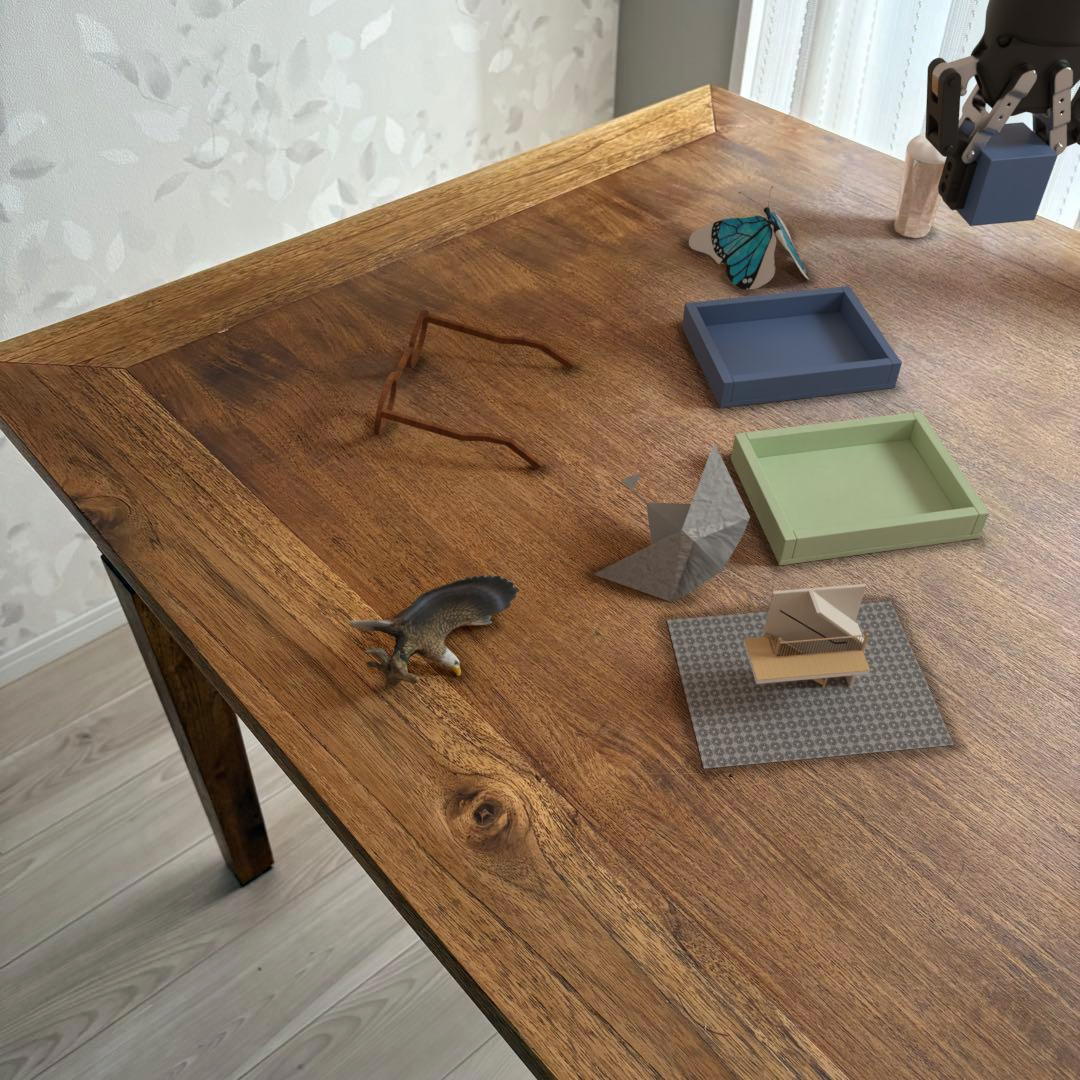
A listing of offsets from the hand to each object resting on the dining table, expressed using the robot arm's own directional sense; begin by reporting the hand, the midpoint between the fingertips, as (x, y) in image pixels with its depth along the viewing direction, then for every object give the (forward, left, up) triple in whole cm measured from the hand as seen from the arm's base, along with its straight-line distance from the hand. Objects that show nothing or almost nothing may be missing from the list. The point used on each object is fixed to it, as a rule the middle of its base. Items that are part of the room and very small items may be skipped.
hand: (988, 200), depth 80 cm
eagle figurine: (+44, +22, -15) cm, 51 cm away
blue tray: (+12, -4, -15) cm, 19 cm away
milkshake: (-7, -21, -15) cm, 27 cm away
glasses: (+38, -2, -15) cm, 41 cm away
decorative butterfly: (+9, -18, -15) cm, 25 cm away
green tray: (+13, +13, -15) cm, 24 cm away
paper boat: (+27, +16, -15) cm, 35 cm away
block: (0, 0, 0) cm, 0 cm away
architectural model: (+22, +28, -15) cm, 39 cm away
